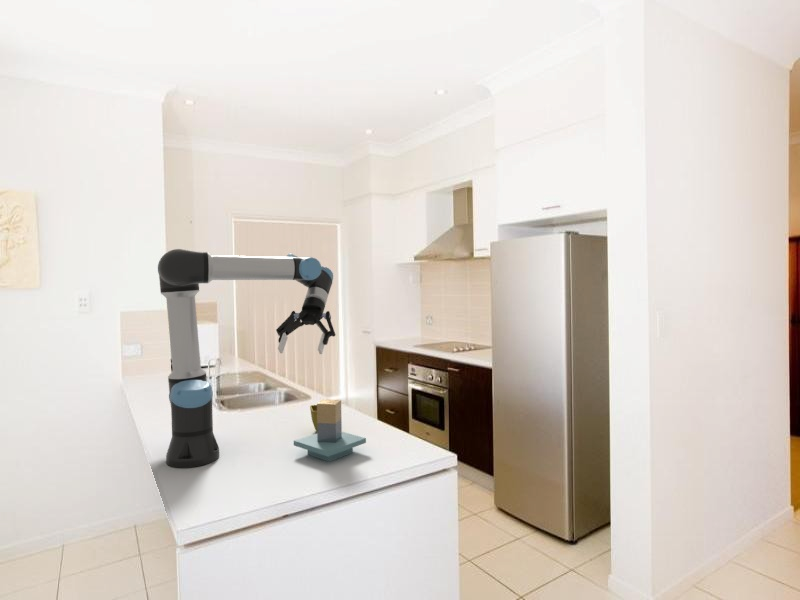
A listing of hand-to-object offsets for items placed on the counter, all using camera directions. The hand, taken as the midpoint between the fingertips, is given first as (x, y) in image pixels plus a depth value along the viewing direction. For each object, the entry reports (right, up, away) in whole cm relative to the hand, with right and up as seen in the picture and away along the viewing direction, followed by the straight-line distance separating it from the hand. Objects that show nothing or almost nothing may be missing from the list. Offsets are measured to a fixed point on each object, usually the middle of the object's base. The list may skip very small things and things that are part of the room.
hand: (299, 351), depth 164 cm
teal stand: (+11, -32, -5) cm, 34 cm away
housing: (+10, -27, -5) cm, 30 cm away
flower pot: (+5, -31, +18) cm, 36 cm away
